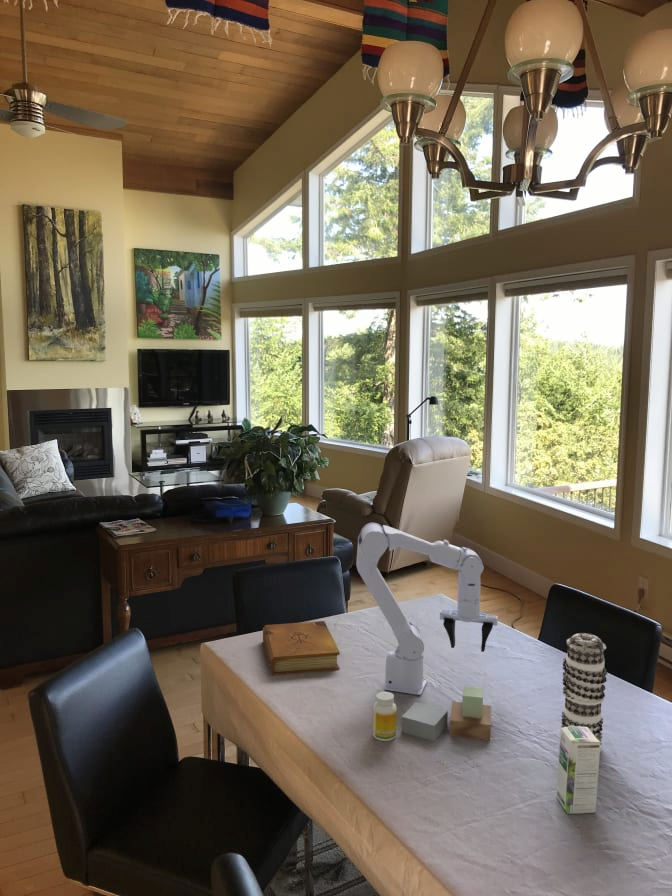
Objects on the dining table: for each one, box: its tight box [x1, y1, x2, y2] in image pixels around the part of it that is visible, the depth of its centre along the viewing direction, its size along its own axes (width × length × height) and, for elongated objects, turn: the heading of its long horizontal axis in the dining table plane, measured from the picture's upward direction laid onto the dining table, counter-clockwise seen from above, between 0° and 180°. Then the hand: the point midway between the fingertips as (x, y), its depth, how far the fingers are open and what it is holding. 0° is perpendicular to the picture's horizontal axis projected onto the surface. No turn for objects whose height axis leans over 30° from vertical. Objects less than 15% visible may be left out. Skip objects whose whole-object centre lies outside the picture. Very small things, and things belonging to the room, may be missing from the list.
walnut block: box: [449, 701, 492, 741], centre depth 162 cm, size 9×9×4 cm
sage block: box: [462, 686, 484, 719], centre depth 162 cm, size 4×4×5 cm
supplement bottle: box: [371, 691, 398, 742], centre depth 158 cm, size 5×5×10 cm
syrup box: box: [556, 726, 601, 815], centre depth 134 cm, size 6×6×14 cm
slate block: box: [400, 701, 449, 742], centre depth 162 cm, size 8×8×4 cm
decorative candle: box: [560, 632, 608, 753], centre depth 153 cm, size 9×9×25 cm
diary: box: [262, 620, 341, 676], centre depth 201 cm, size 23×19×6 cm
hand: (467, 648), depth 181 cm, fingers open, 7 cm apart
